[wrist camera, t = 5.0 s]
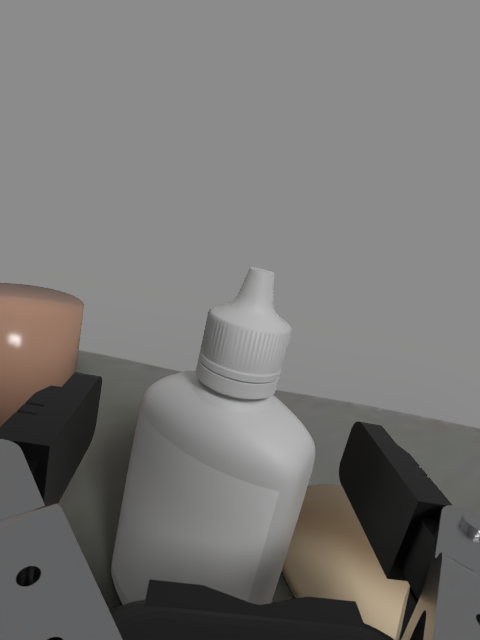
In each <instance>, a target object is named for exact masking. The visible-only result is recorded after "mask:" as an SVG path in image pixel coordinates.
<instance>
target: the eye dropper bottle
mask: <svg viewBox="0 0 480 640" xmlns="http://www.w3.org/2000/svg"><path fill="white" fill-rule="evenodd" d="M274 277H275V273H274V272H271V271H268V270H265V269H260V268H255V267H250V269H249V271H248V274H247V276H246V278H245V281H244V283H243V285H242V287H241V289H240V292H239V294H238V296H237V297H236V298H235V299H234V300H233V301H232V302H230V303H228V304H224V305H220V306H216V307H213V308H212V309H210V310H209V312H208V317H207V321H206V326H205V331H204V336H203V340H202V345H201V350H200V354H199V359H198V364H197V369H196V371H185V372H180V373H176V374H173V375H170V376H167V377H165V378H163V379H161V380H158V381H156V382H155V383H154V384H152V385H151V386H150V387H149V388H148V389H147V390H146V392H145V393H144V395H143V398H142V401H141V404H140V409H139V414H138V419H137V423H136V428H135V433H134V439H133V444H132V450H131V455H130V461H129V466H128V472H127V477H126V483H125V488H124V494H123V500H122V505H121V511H120V517H119V523H118V528H117V534H116V540H115V545H114V551H113V557H112V566H111V575H112V579H113V583H114V586H115V589H116V591H117V594H118V596H119V598H120V600H121V602H122V604H123V605H124V604H127V603H130V602H134V601H139V600H145V599H146V594H147V589H148V584H149V579H150V580H160V581H169V582H178V583H187V584H197V585H204V586H207V587H209V588H212V589H215V590H217V591H220V592H223V593H226V594H228V595H231V596H234V597H236V598H239V599H242V600H245V601H247V602H250V603H253V604H257V605H263V604H269V603H272V599H273V596H274V593H275V590H276V587H277V584H278V580H279V577H280V574H281V571H282V568H283V565H284V561H285V558H286V555H287V552H288V549H289V545H290V542H291V539H292V536H293V533H294V529H295V526H296V523H297V520H298V517H299V513H300V510H301V507H302V504H303V500H304V497H305V494H306V490H307V487H308V483H309V480H310V476H311V473H312V470H313V465H314V460H315V445H314V442H313V440H312V438H311V436H310V434H309V433H308V431H307V429H306V428H305V427H304V425H303V424H302V423H301V422H300V421H299V419H298V418H297V417H296V416H295V415H294V414H293V413H292V412H291V411H290V410H289V409H288V408H287V407H286V406H285V405H284V404H283V403H282V402H281V401H280V400H278V399H277V398H276V397H275V396H274V395H273V394H274V393H275V392H276V388H277V384H278V381H279V377H280V373H281V370H282V366H283V362H284V359H285V355H286V351H287V348H288V344H289V340H290V337H291V333H292V330H291V327H290V326H289V324H287V322H285V321H284V320H283V319H282V318H280V317H279V316H278V315H277V314H276V312H275V310H274V307H273V294H274Z"/></svg>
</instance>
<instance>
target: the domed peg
mask: <svg viewBox="0 0 480 640" xmlns="http://www.w3.org/2000/svg"><path fill="white" fill-rule="evenodd" d="M83 309H84V304H83V302H82V301H81V300H79V299H78V298H76V297H74V296H72V295H70V294H66V293H64V292H61V291H57V290H53V289H49V288H43V287H38V286H30V285H22V284H10V283H0V427H1V426H2V425H3V424H4V423H5V422H6V421H7V420H8V419H9V418H10V417H11V416H12V415H13V414H14V413H15V412H16V413H17V410H18V409H19V408H20V407H21V406H22V405H23V404H25V403H26V401H27V400H28V399H29V398H30V397H31V396H32V395H33V394H34V393H35V392H38V391H40V390H42V389H44V388H47V387H49V386H51V385H52V386H58V387H62V386H63V385H64V384H65V383H66V381H67V380H68V379H69V378H70V377H71V376H72V375H73V374H74V373H75V372H76V365H77V357H78V349H79V341H80V333H81V325H82V317H83Z"/></svg>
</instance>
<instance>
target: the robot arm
mask: <svg viewBox="0 0 480 640" xmlns="http://www.w3.org/2000/svg"><path fill="white" fill-rule="evenodd" d="M101 386H102V378H101V377H100V376H94V375H88V374H82V373H77V372H75V373H74V374H73V375H72V376H71V377H70V378H69V379H68V380H67V381H66V383H65V384H64V385H63V386H62V387H58V386H52V385H51V386H49V387H47V388H44V389H42V390H40V391H38V392H35V393H34V394H33V395H32V396H31V397H30V398H29V399H28V400H27V401H26V403H25V404H23V405H22V406H21V407H20V408H19V409H18V410H17V413H16V412H15V413H14V414H13V415H12V416H11V417H10V418H9V419H8V420H7V421H6V422H5V423H4V424H3V425H2V426H1V427H0V640H480V515H478V514H476V513H474V512H472V511H470V510H468V509H465V508H463V507H459V506H454V505H452V504H451V503H450V502H449V501H448V499H447V498H446V497H445V496H444V495H443V493H442V492H441V491H440V490H439V489H438V487H437V486H436V485H435V484H434V483H433V482H432V480H431V479H430V478H427V474H426V473H425V472H424V471H423V470H422V468H419V465H418V464H417V462H416V461H415V460H414V459H413V458H412V456H411V455H410V454H409V453H407V452H406V451H405V450H403V449H402V448H401V447H400V446H398V445H397V444H396V443H395V442H394V440H393V439H392V438H391V437H390V436H389V434H388V433H387V432H386V431H385V429H384V428H383V427H382V426H380V425H375V424H369V423H364V422H356V423H355V424H354V425H353V427H352V429H351V432H350V435H349V438H348V441H347V444H346V447H345V450H344V453H343V456H342V459H341V462H340V467H339V478H340V482H341V485H342V487H343V489H344V491H345V493H346V495H347V497H348V499H349V501H350V503H351V506H352V508H353V510H354V512H355V514H356V516H357V518H358V520H359V522H360V524H361V526H362V528H363V530H364V532H365V534H366V537H367V539H368V541H369V543H370V545H371V547H372V549H373V551H374V553H375V555H376V557H377V559H378V561H379V563H380V565H381V567H382V570H383V572H384V574H385V576H386V578H387V579H393V580H401V581H408V583H409V585H410V586H409V588H408V590H407V593H406V595H405V598H404V602H403V607H402V611H401V616H400V620H399V625H398V630H397V634H396V639H393V638H392V637H390V636H388V635H387V634H385V633H383V632H382V631H380V630H378V629H376V628H374V627H372V626H370V625H368V624H365V623H364V622H363V620H362V617H361V614H360V612H359V609H358V606H357V604H356V602H355V601H346V600H336V599H327V598H318V597H308V596H307V597H302V598H296V599H291V600H285V601H280V602H274V603H269V604H263V605H257V604H253V603H250V602H247V601H245V600H242V599H239V598H236V597H234V596H231V595H228V594H226V593H223V592H220V591H217V590H215V589H212V588H209V587H207V586H204V585H197V584H187V583H178V582H169V581H160V580H150V579H149V584H148V589H147V594H146V599H145V600H139V601H134V602H130V603H127V604H124V605H120V606H118V607H116V608H114V609H111V610H109V609H108V607H107V605H106V602H105V600H104V598H103V596H102V594H101V592H100V589H99V587H98V585H97V583H96V581H95V579H94V576H93V574H92V572H91V570H90V568H89V566H88V563H87V561H86V559H85V557H84V555H83V553H82V551H81V548H80V546H79V544H78V542H77V540H76V538H75V535H74V533H73V531H72V529H71V527H70V525H69V522H68V520H67V518H66V516H65V514H64V512H63V510H62V508H61V506H60V505H59V504H58V502H59V500H60V499H61V497H62V495H63V493H64V491H65V489H66V488H67V486H68V484H69V482H70V480H71V478H72V477H73V475H74V473H75V471H76V469H77V467H78V466H79V464H80V462H81V460H82V458H83V456H84V455H85V453H86V451H87V449H88V447H89V445H90V443H91V441H92V438H93V435H94V431H95V427H96V421H97V414H98V407H99V400H100V393H101Z"/></svg>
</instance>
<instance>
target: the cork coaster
mask: <svg viewBox="0 0 480 640" xmlns="http://www.w3.org/2000/svg"><path fill="white" fill-rule="evenodd" d="M282 573H283V576H284V578H285V581H286V583H287V584H288V586H289V588H290V590H291V592H292V594H293V596H294V597H295V599H296V598H302V597H307V596H308V597H318V598H327V599H336V600H346V601H355V602H356V604H357V606H358V609H359V612H360V614H361V617H362V620H363V622H364V623H365V624H368V625H370V626H372V627H374V628H376V629H378V630H380V631H382V632H383V633H385V634H387V635H388V636H390V637H392V638H393V639H396V634H397V630H398V625H399V620H400V616H401V611H402V607H403V602H404V598H405V595H406V593H407V590H408V588H409V586H410V585H409V583H408V581H401V580H393V579H387V578H386V576H385V574H384V572H383V570H382V567H381V565H380V563H379V561H378V559H377V557H376V555H375V553H374V551H373V549H372V547H371V545H370V543H369V541H368V539H367V537H366V534H365V532H364V530H363V528H362V526H361V524H360V522H359V520H358V518H357V516H356V514H355V512H354V510H353V508H352V506H351V503H350V501H349V499H348V497H347V495H346V493H345V491H344V489H343V487H342V485H334V484H324V485H316V486H312V487H308V488H307V490H306V494H305V497H304V500H303V504H302V507H301V510H300V513H299V517H298V520H297V523H296V526H295V529H294V533H293V536H292V539H291V542H290V545H289V549H288V552H287V555H286V558H285V561H284V565H283V568H282Z"/></svg>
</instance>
